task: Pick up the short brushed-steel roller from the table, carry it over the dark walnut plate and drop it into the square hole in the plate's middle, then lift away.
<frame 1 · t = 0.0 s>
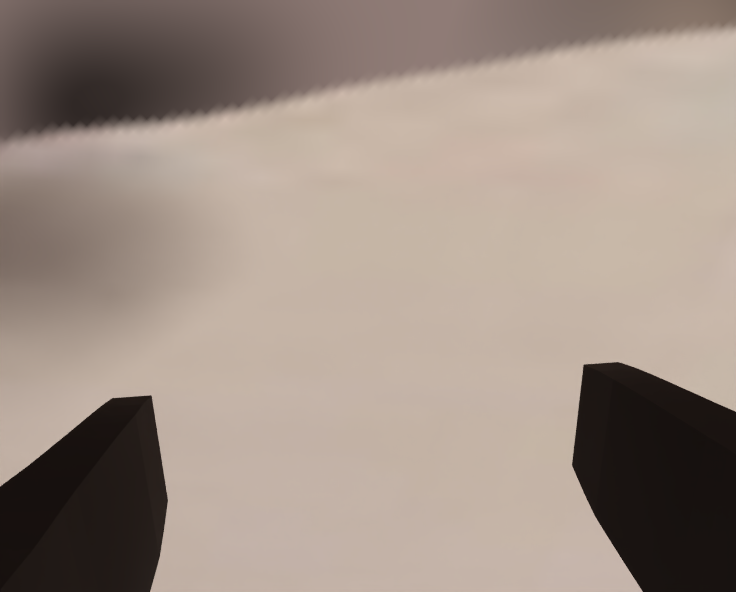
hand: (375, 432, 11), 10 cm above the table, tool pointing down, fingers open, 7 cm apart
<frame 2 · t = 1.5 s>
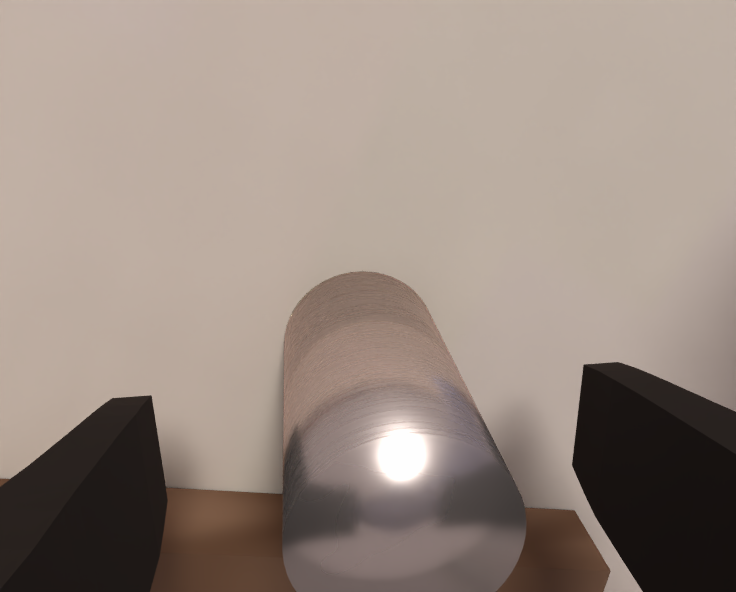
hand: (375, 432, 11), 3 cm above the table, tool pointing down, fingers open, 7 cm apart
steel roller: (360, 342, 14), on the table
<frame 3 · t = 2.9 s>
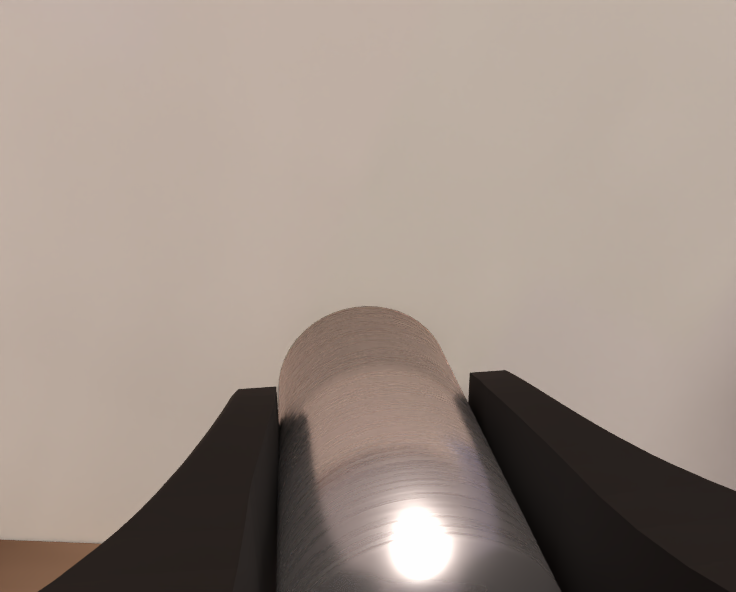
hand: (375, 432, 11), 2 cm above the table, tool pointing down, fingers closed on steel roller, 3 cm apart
steel roller: (364, 384, 13), on the table, touching gripper
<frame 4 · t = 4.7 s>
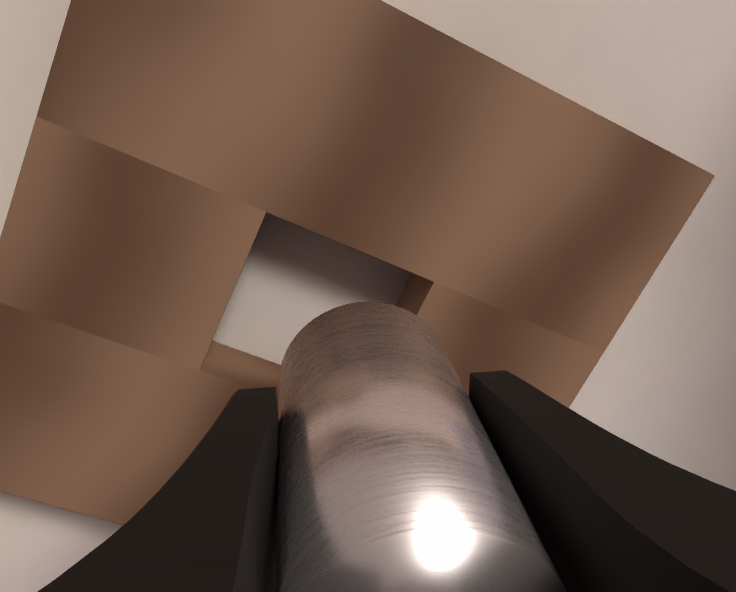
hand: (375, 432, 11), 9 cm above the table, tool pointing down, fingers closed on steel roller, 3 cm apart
walnut plate: (313, 298, 20), on the table
steel roller: (364, 380, 13), point 7 cm above the table, touching gripper
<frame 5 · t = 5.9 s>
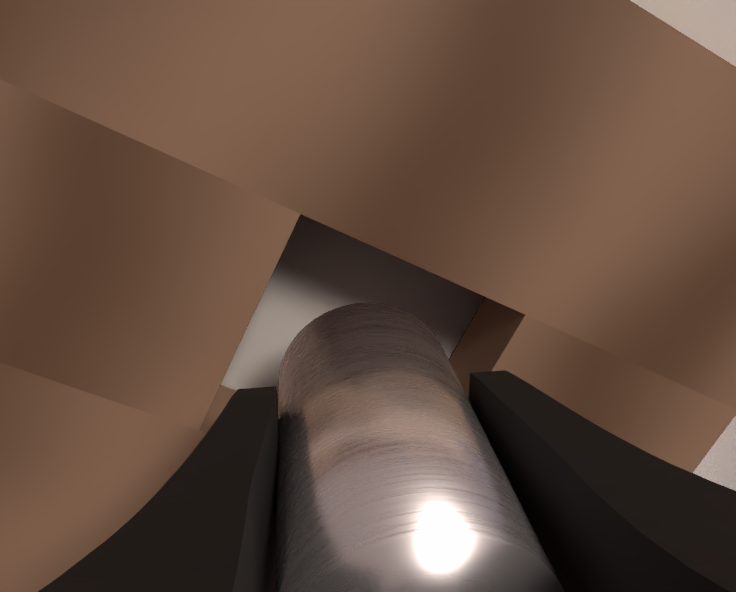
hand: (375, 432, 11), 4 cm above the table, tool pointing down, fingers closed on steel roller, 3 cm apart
walnut plate: (352, 330, 15), on the table
steel roller: (364, 381, 13), point 2 cm above the table, touching gripper
when the fingers open (4 cm above the table, at t = 6.5 s): steel roller drops 3 cm, resting in walnut plate.
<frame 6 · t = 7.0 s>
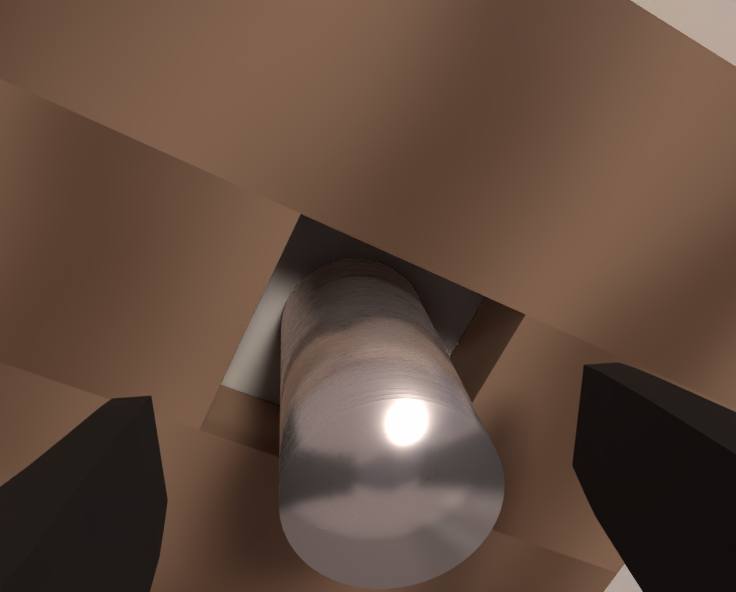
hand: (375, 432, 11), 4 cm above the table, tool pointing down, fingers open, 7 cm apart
walnut plate: (352, 330, 15), on the table
steel roller: (353, 326, 15), resting in walnut plate
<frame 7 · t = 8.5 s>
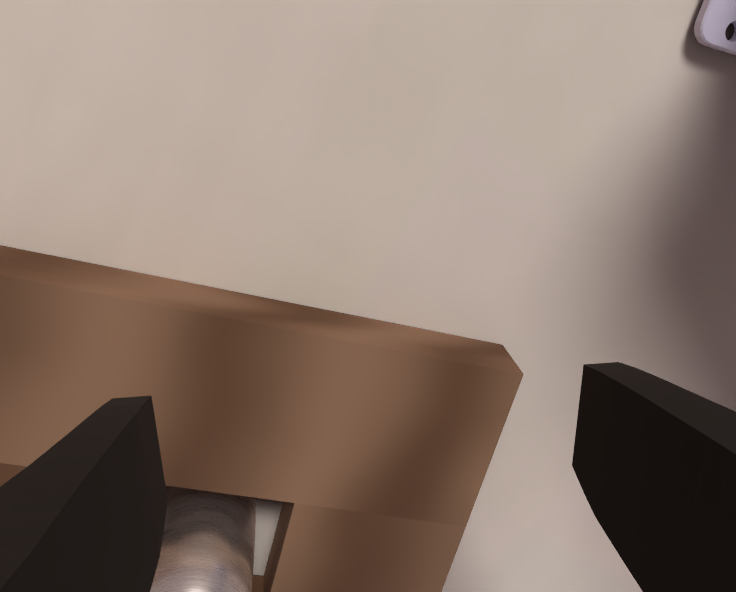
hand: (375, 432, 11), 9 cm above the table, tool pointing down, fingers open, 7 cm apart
walnut plate: (207, 512, 22), on the table
steel roller: (207, 510, 22), resting in walnut plate
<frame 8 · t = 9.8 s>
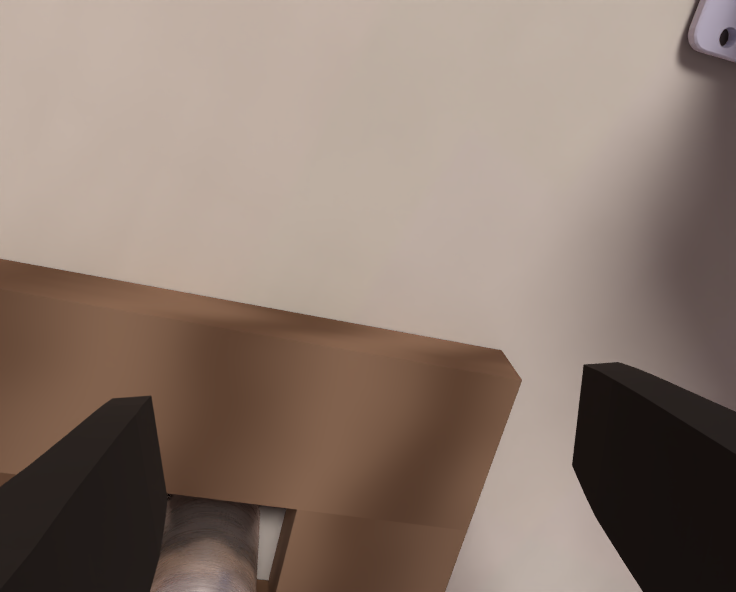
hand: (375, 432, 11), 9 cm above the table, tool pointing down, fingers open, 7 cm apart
walnut plate: (212, 518, 23), on the table
steel roller: (212, 516, 23), resting in walnut plate
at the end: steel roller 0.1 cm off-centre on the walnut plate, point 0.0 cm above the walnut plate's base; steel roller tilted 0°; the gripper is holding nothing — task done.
